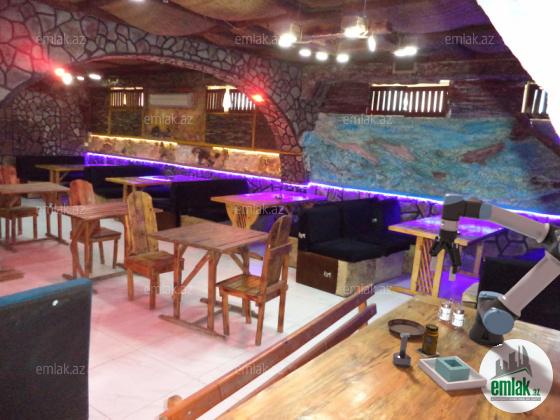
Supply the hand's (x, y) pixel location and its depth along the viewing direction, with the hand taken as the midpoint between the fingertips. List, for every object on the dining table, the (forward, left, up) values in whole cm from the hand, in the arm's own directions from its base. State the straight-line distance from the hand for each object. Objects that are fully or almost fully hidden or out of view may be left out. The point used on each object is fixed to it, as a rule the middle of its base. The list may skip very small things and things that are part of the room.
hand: (441, 275), depth 199 cm
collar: (+11, +28, -31) cm, 43 cm away
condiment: (+9, +9, -32) cm, 34 cm away
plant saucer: (+7, -11, -32) cm, 35 cm away
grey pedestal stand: (+26, +16, -32) cm, 44 cm away
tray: (+11, +28, -32) cm, 44 cm away
